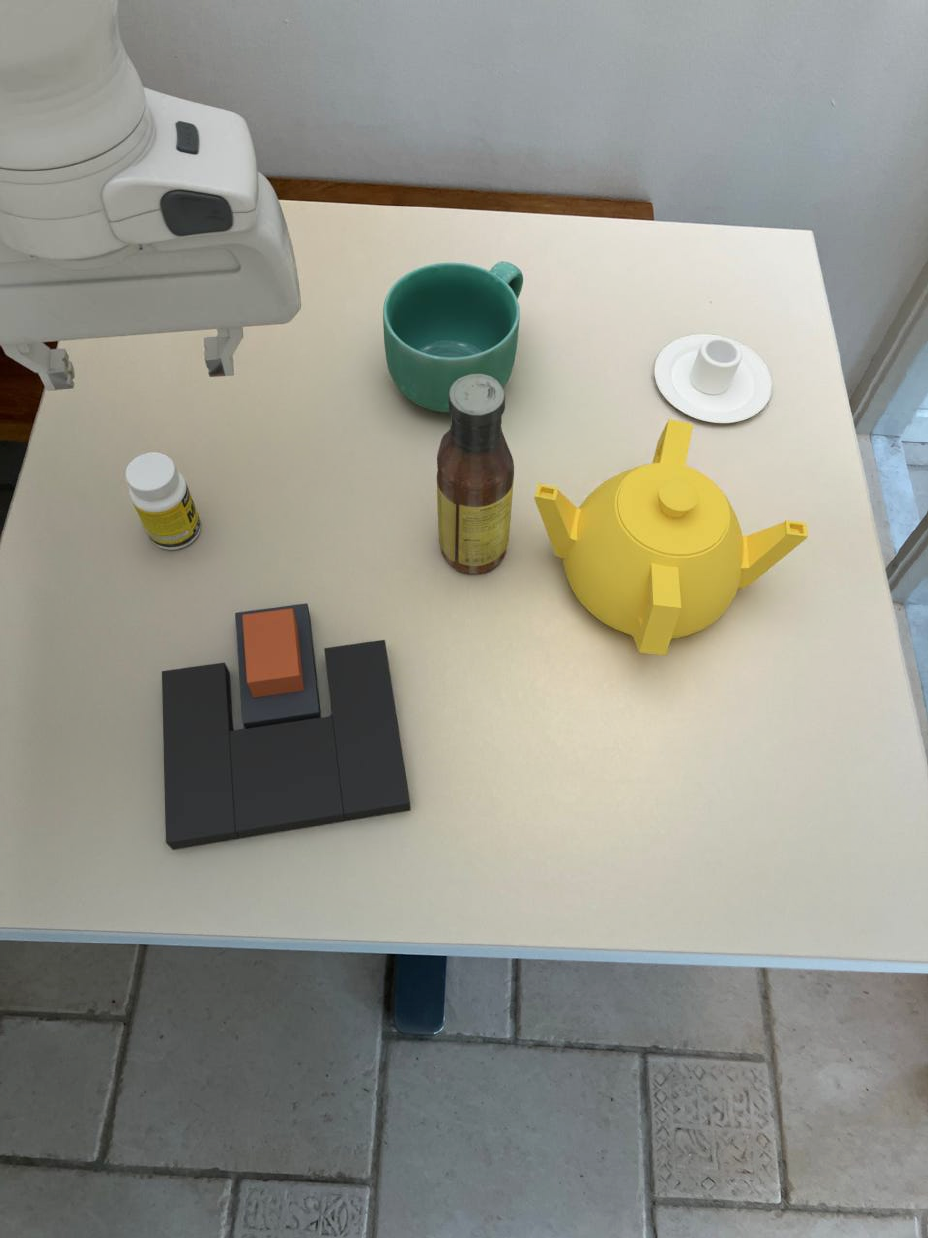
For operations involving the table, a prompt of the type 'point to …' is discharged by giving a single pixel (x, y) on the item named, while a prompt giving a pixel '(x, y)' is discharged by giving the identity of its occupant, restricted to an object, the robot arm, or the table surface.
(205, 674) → the base pad
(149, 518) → the supplement bottle
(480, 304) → the mug
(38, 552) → the table surface
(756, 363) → the candle holder
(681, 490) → the teapot
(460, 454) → the sauce bottle
